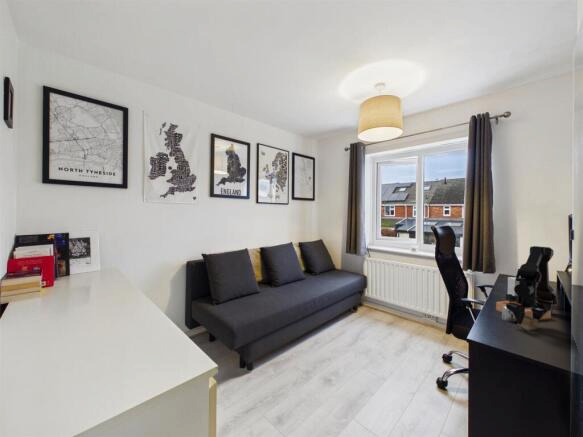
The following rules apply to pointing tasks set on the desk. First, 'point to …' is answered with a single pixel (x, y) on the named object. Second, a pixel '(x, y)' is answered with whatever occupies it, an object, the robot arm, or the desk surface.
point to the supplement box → (512, 285)
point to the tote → (527, 311)
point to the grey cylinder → (507, 314)
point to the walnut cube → (529, 323)
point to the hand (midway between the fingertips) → (527, 323)
